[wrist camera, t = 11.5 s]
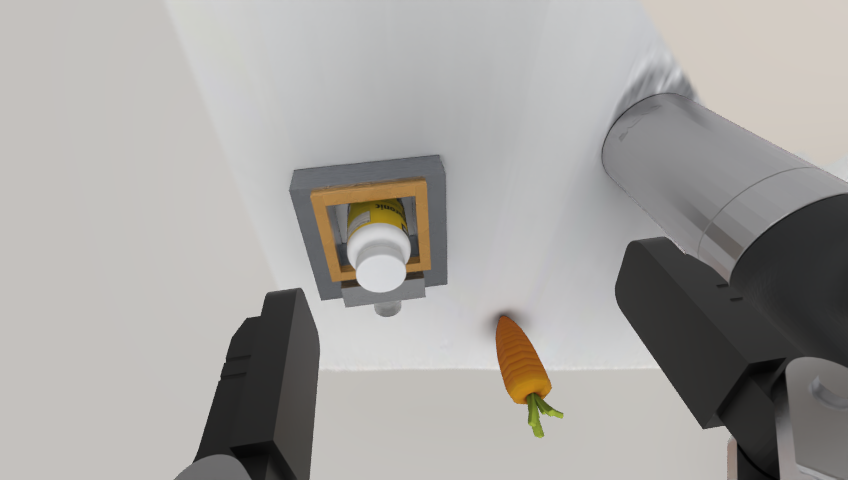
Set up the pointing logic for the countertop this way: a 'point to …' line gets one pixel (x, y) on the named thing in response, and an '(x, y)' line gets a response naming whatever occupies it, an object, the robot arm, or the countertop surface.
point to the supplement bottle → (378, 243)
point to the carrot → (523, 372)
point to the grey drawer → (368, 183)
